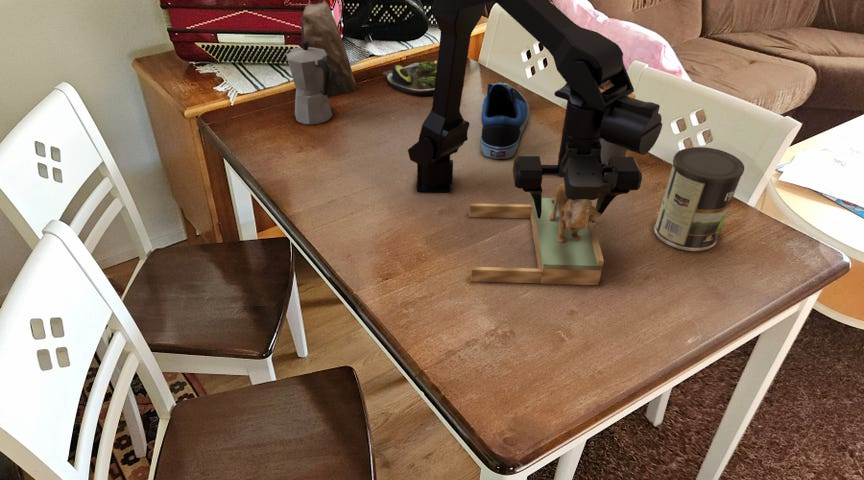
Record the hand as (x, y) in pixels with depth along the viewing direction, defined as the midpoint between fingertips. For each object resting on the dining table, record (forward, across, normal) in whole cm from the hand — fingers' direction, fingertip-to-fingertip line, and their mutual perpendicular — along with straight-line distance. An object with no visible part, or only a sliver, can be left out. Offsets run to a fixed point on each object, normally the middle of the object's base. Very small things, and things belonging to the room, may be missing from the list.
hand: (567, 217), depth 102 cm
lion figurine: (+2, 0, 0) cm, 3 cm away
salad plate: (+6, -28, +70) cm, 75 cm away
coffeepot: (+6, -52, +49) cm, 71 cm away
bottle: (+6, +12, +28) cm, 31 cm away
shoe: (+6, -8, +44) cm, 45 cm away
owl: (+6, -50, +66) cm, 83 cm away
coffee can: (+6, +22, +5) cm, 23 cm away
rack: (+6, -6, 0) cm, 8 cm away
